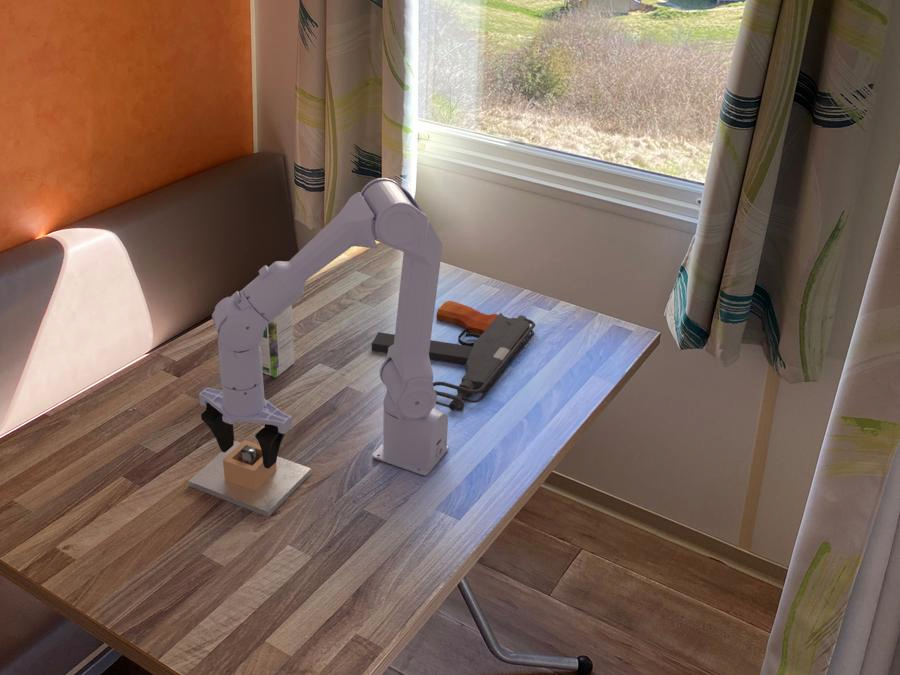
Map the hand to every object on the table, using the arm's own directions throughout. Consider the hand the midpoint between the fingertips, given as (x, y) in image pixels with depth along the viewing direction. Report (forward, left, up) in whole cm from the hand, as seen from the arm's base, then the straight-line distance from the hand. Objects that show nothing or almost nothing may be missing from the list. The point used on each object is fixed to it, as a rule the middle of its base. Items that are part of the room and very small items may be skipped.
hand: (248, 456), depth 142 cm
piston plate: (0, 0, -4) cm, 4 cm away
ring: (0, 0, -3) cm, 3 cm away
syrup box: (+15, -27, -5) cm, 31 cm away
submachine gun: (-9, -46, -5) cm, 47 cm away
